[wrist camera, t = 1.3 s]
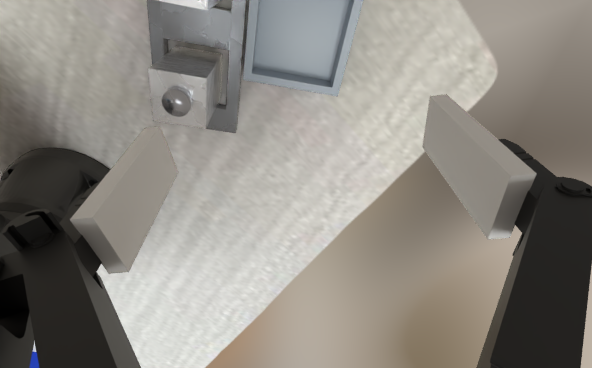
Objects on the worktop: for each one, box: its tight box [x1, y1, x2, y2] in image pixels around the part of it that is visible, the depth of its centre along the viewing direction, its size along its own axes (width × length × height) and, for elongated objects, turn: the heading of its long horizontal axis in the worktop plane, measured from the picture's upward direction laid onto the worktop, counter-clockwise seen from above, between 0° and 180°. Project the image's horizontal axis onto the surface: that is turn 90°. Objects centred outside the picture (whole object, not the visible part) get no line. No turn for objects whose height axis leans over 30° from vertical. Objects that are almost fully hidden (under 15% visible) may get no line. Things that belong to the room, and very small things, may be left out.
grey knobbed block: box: [148, 46, 223, 129], centre depth 31 cm, size 5×5×9 cm
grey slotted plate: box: [147, 0, 247, 133], centre depth 31 cm, size 22×9×1 cm, turn 170°
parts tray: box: [243, 0, 363, 96], centre depth 31 cm, size 10×10×3 cm
